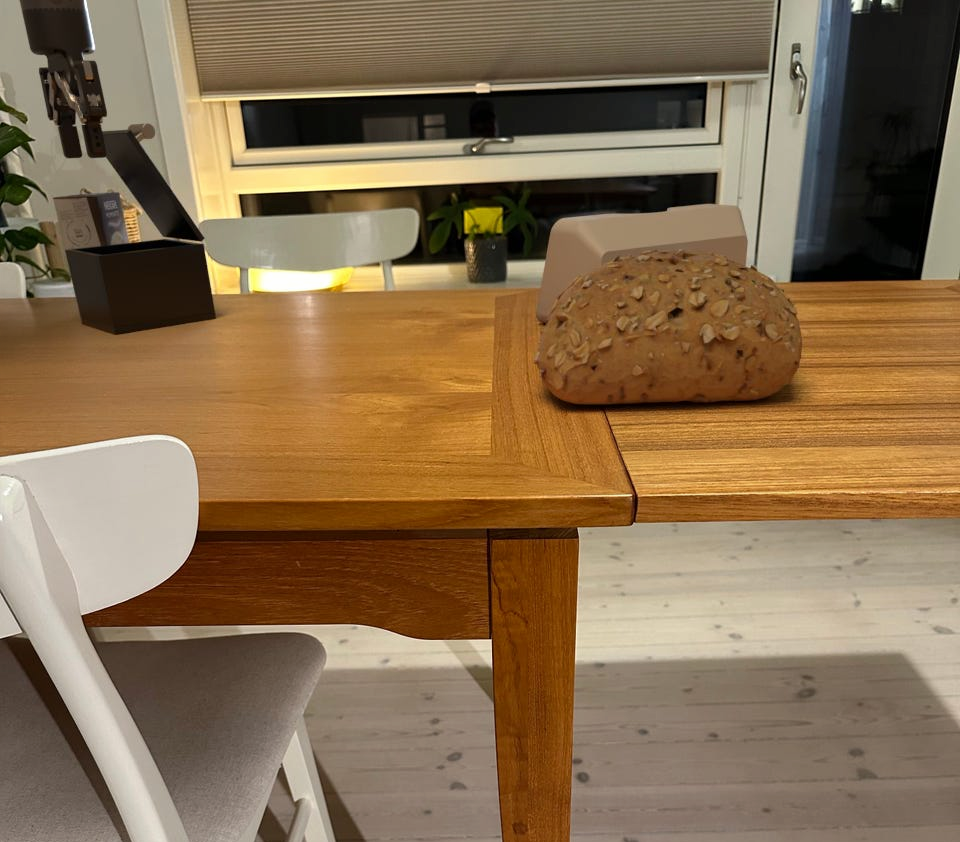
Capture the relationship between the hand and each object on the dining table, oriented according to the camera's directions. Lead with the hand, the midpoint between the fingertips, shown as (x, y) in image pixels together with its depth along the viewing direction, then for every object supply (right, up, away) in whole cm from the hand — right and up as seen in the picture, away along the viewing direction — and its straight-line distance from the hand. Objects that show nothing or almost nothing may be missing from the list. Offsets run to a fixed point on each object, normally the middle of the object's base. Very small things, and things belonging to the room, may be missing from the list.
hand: (85, 158), depth 123 cm
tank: (+73, -22, -3) cm, 76 cm away
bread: (+68, -38, -31) cm, 84 cm away
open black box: (+4, -17, +12) cm, 21 cm away
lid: (+6, -1, +6) cm, 8 cm away
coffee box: (-5, -12, +22) cm, 25 cm away
